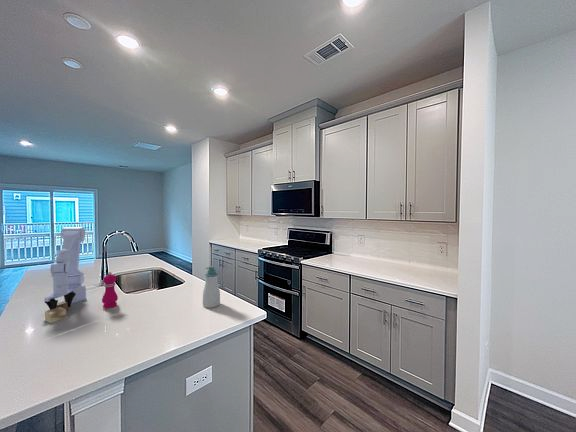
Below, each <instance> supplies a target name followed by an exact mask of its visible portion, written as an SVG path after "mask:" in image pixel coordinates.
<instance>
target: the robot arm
mask: <svg viewBox="0 0 576 432" xmlns="http://www.w3.org/2000/svg"><path fill="white" fill-rule="evenodd" d="M60 234H61V238H62V240H63V242H62V246H61V249H60V250H59V251H58V252H57V254H56V256H55V257H56V258H55V260H54V262H53V263H52V264H51V265H50V273H51V277H52V293H51V294H50V295H47V296H45V297H44V298H43V299H44V303H45V304H46V306H48V310H51V309H55V308H56V306H57V303H59V300H57V299H58V298H61V297H64V299H63V300H61V301H60V302H63V301H65V302H67V303H68V308H71V305H72V304H74V303H77V302H81V301H85V300H87V287H86V285H85V284H84V282H85V276H84V274H85V273H84V272H83V271H81V270H80V269H79V263H80V251H81V243H83V242H84V241H85V237H86V229H85V227H84V226H81V227H79V226H77V227H76V226H75V227H74V226H73V227H71V226H70V227H67V226H65V227H62V228H61V231H60Z"/></svg>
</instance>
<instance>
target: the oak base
mask: <svg viewBox="0 0 576 432" xmlns="http://www.w3.org/2000/svg"><path fill="white" fill-rule="evenodd" d="M66 316H67V311H66V309H64V308H62V307H58V308H55V309H51V310H50V309H47V310H44V319H46V320H48V321H50V322H51V323H53V322H52V321H54V322H56V321H55V320H57V321H59V320H58V319H60V320H62V319H61V318H63V319H66V318H67V317H66ZM65 317H66V318H65ZM48 321H47V322H48ZM50 322H49V323H50Z"/></svg>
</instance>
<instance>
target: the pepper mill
mask: <svg viewBox="0 0 576 432" xmlns="http://www.w3.org/2000/svg"><path fill="white" fill-rule="evenodd" d="M102 281H103V283H104V284H103V285H104V287H105V288H104V289H105V290H104V294H103V295H102V298H101V302H102V307H103V309H112V308H115V307H117V303H118V302H117V301H118V299H119V298H118V297H119V296H118V294H117V293H116V289H115V286H116V281H117V277H116V275H115V274H113V273H112V272H111V271H108V272H107V275H105V276H104V277H103V279H102Z"/></svg>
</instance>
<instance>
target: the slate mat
mask: <svg viewBox="0 0 576 432" xmlns="http://www.w3.org/2000/svg"><path fill="white" fill-rule="evenodd" d="M66 318H68V316H67V315H66V317H65V318H61V319H58V320H55V321H52V322H50V321H48V320H46V319H45V318H43V320H44V321H46V322H48V323H53V322H56V321H59V320H63V319H66Z"/></svg>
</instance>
